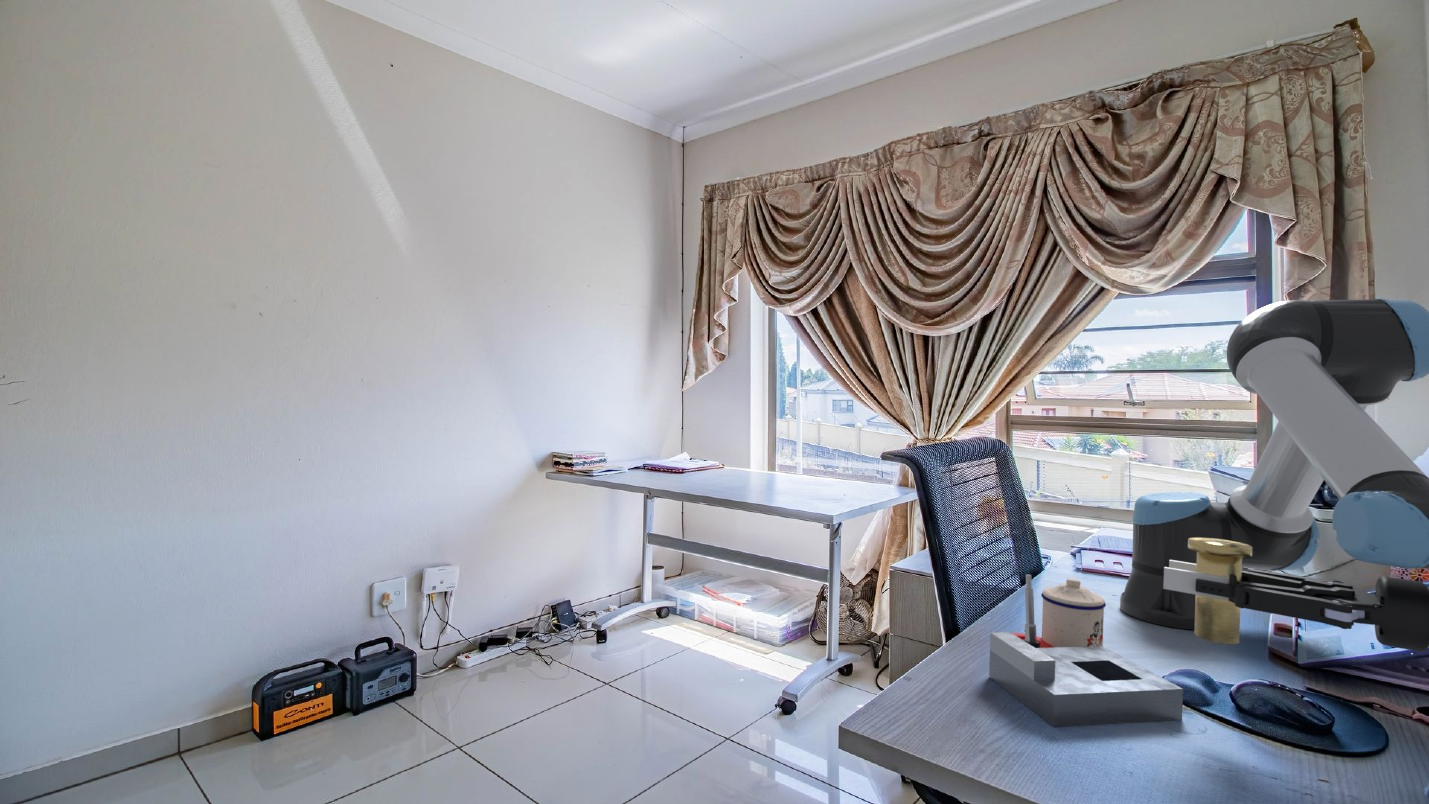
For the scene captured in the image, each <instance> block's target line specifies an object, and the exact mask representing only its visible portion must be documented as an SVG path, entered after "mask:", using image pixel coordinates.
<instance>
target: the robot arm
mask: <svg viewBox="0 0 1429 804" xmlns="http://www.w3.org/2000/svg"><path fill="white" fill-rule="evenodd" d="M1226 361H1227V365H1228V369H1229V370H1230V373H1231V375H1232V376H1233V377H1234V378H1235V380H1236V381H1237V383H1238V384H1239V385H1240V387H1242V388H1243V390H1246V391H1247V392H1248V393H1251V394H1254V395H1258V396H1259V397H1260V399H1261V401H1263V403H1264V404H1265V406H1266V407H1267V408H1268V409H1269V410H1270V412H1271V413H1272V415H1273V416H1274V417H1275V418H1276V419H1277V423H1276V426H1275V428H1274V430H1273V432H1272V434H1271V436H1270V438H1269V440H1268V442H1267V444H1266V447H1265V448H1264V451H1263V452H1262V454H1261V456H1260V458H1259V460H1258V463H1257V464H1256V467H1255V468H1254V471H1253V473H1252V474H1251V477H1250V479H1249V481H1248V483H1247V484H1245V485H1244V484H1243V485H1240V486H1238V487H1236V488H1235V489H1234V490H1233V491H1232V492H1231V494H1230V495H1229V498H1228V499H1227V502H1217V501H1216V502H1214V501H1211V500H1210V498H1209V497H1208V495H1205V494H1203V493H1197V492H1180V491H1179V492H1178V491H1176V492H1175V491H1174V492H1173V491H1172V492H1168V491H1167V492H1158V493H1155V492H1154V493H1148V494H1145V495H1142V496H1140V497H1138V498H1137V499H1136V501H1135V503H1134V506H1133V507H1134V509H1133V516H1132V519H1131V520H1132V521H1131V522H1132V523H1133V524H1132V558H1131V559H1132V561H1131V562H1132V563H1131V571H1130V575H1129V576H1128V579H1127V582H1126V584H1125V587H1124V592H1123V591H1122V593H1121V595H1120V599H1119V600H1120V602H1119V603H1120V604H1119V608H1120V610H1121V611H1122V612H1123V613H1125V614H1126V615H1129V616H1130V617H1133V618H1136V619H1138V620H1141V621H1144V622H1148V623H1151V624H1156V625H1160V626H1164V627H1169V628H1177V629H1185V630H1194V629H1195V596H1196V595H1201V596H1207V597H1212V598H1218V599H1223V600H1228V598H1229V601H1230V602H1232V603H1235V606H1236V607H1239V608H1240V609H1245V610H1246V609H1247V610H1253V611H1258V612H1262V613H1269V614H1274V615H1278V616H1285V617H1289V618H1294V619H1299V620H1300V619H1301V620H1304V621H1309V622H1310V621H1311V622H1316V623H1322V624H1325V625H1329V626H1333V627H1336V628H1337V627H1338V628H1340V629H1342V630H1351V629H1353V628H1352V627H1353V626H1355V623H1356V624H1360V625H1361V624H1363V625H1371V626H1374V632H1375V637H1376V640H1377V641H1378V642H1379V644H1381V645H1383V646H1388V647H1393V648H1397V649H1398V648H1399V649H1402V650H1403V649H1404V650H1408V651H1413V652H1419V653H1423V652H1427V650H1428V649H1429V586H1428V585H1427V584H1426V583H1424V582H1423V581H1420V580H1412V579H1406V578H1399V577H1398V578H1397V577H1393V576H1380V577H1379V578H1378V579H1377V580H1376V584H1375V591H1374V593H1373V592H1372V593H1371V592H1368V591H1363V590H1360V589H1359V590H1358V589H1355V588H1354V585H1353V584H1349V583H1344V582H1343V581H1341V580H1339V579H1334V580H1333V579H1324V578H1323V579H1322V578H1313V577H1308V576H1299V575H1295V574H1294V575H1293V574H1288V573H1281V572H1278V571H1295V570H1299V569H1302V568H1303V567H1306V566H1307V565H1308V564H1310V562H1311V561H1312V560H1313V559H1314V558H1315V556H1316V555H1317V551H1318V549H1319V546H1320V545H1319V543H1318V540H1319V539H1320V528H1319V525H1318V523H1317V520H1316V519H1315V517H1314V514H1313V511H1311V508H1310V507H1309V506H1310V505H1311V503H1312V501H1313V499H1314V498H1315V496H1316V494H1317V493H1318V491H1319V489H1320V488H1321V486H1322V484H1323V482H1325V483H1326V484H1327V486H1329V488H1330V490H1331V491H1332V492H1333V493H1334V495H1335V496H1336V497H1337V498H1338V501H1337V503H1336V504H1335V506H1334V509H1333V512H1332V516H1331V518H1332V522H1331V523H1332V524H1331V525H1332V529H1333V530H1334V531H1335V532H1336V537H1335V540H1336V542H1337V544H1338V546H1340V548H1341V549H1342V550H1343V552H1345V553H1346V555H1348V556H1349V557H1351V558H1352V559H1355V560H1357V561H1359V562H1363V563H1366V564H1367V563H1369V564H1374V565H1382V566H1389V567H1395V568H1402V569H1408V570H1409V569H1410V570H1411V569H1414V570H1417V569H1422V570H1423V569H1427V570H1429V477H1428V476H1427V475H1426V474H1425V473H1424V471H1422V470H1421V468H1420V467H1419V466H1418V465H1417V464H1416V463H1415V462H1414V461H1413V460H1412V459H1411V458H1410V457H1409V456H1408V455H1407V454H1406V452H1405V451H1403V449H1401V447H1399V445H1398V444H1397V443H1396V442H1395V441H1394V440H1393V439H1392V438H1391V437H1390V436H1389V435H1388V434H1387V432H1386V431H1384V429H1382V427H1381V426H1380V425H1379V424H1378V423H1377V422H1376V421H1375V420H1374V419H1373V418H1372V417H1371V416H1370V415H1369V414H1368V413H1367V412H1366V408H1367V407H1368V406H1372V405H1376V404H1379V403H1384V401H1386V400H1387V399H1388V398H1389V397H1390V395H1391V393H1392V392H1393V390H1394V389H1395V387H1396V385H1397V384H1398V383H1399V382H1400V381H1401V382H1412V381H1416V380H1419V379H1423V378H1425V377H1427V376H1428V375H1429V311H1428V309H1426V307H1424V306H1423V305H1422V304H1420V303H1418V302H1416V301H1411V300H1407V299H1386V298H1382V297H1376V298H1373V299H1318V300H1317V299H1310V300H1309V299H1308V300H1307V299H1306V300H1304V299H1294V300H1293V299H1288V300H1282V301H1278V302H1273V303H1270V304H1267V305H1266V306H1263V307H1261V308H1259V309H1256V310H1255V311H1253V312H1252V313H1250V314H1249V315H1247V316H1246V317H1245V318H1243V319H1242V320H1241V321H1240V322H1239V324H1237V326H1236V327H1235V328H1234V329H1233V331H1232V333H1231V335H1230V336H1229V340H1228V343H1227V347H1226ZM1189 538H1214V539H1222V540H1229V541H1234V542H1239V543H1243V544H1247V545H1250V546H1251V547H1252V556H1251V557H1245V558H1242V575H1241V581H1237V577H1236V575H1235V574H1229V577H1225V576H1218V575H1213V574H1206V573H1200V572H1196V564H1197V551H1194V550H1191V549H1189V548H1188V539H1189Z"/></svg>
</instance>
